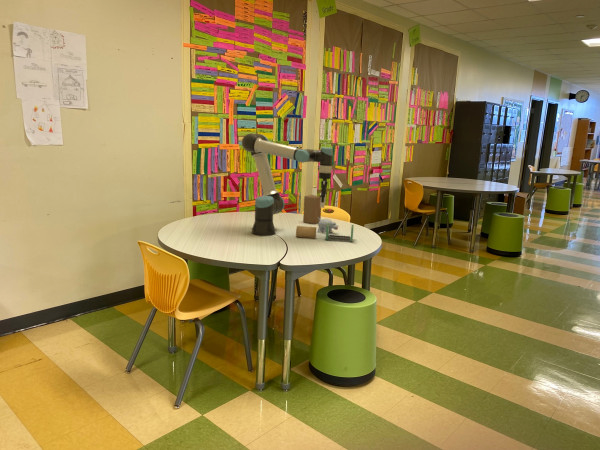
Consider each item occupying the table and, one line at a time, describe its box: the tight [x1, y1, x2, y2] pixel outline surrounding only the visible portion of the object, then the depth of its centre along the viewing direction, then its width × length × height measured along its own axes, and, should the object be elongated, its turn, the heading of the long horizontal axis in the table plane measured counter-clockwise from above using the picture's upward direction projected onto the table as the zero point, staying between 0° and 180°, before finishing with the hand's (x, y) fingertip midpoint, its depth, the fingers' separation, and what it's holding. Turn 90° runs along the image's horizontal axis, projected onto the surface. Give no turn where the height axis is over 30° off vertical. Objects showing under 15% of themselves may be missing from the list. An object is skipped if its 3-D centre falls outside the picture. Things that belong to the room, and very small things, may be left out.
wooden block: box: [302, 194, 322, 225], centre depth 318 cm, size 10×10×20 cm
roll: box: [295, 225, 317, 239], centre depth 270 cm, size 12×7×7 cm, turn 82°
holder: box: [325, 223, 355, 243], centre depth 267 cm, size 16×10×9 cm, turn 82°
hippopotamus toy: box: [316, 217, 339, 235], centre depth 287 cm, size 11×15×10 cm
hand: (322, 205), depth 273 cm, fingers open, 13 cm apart
